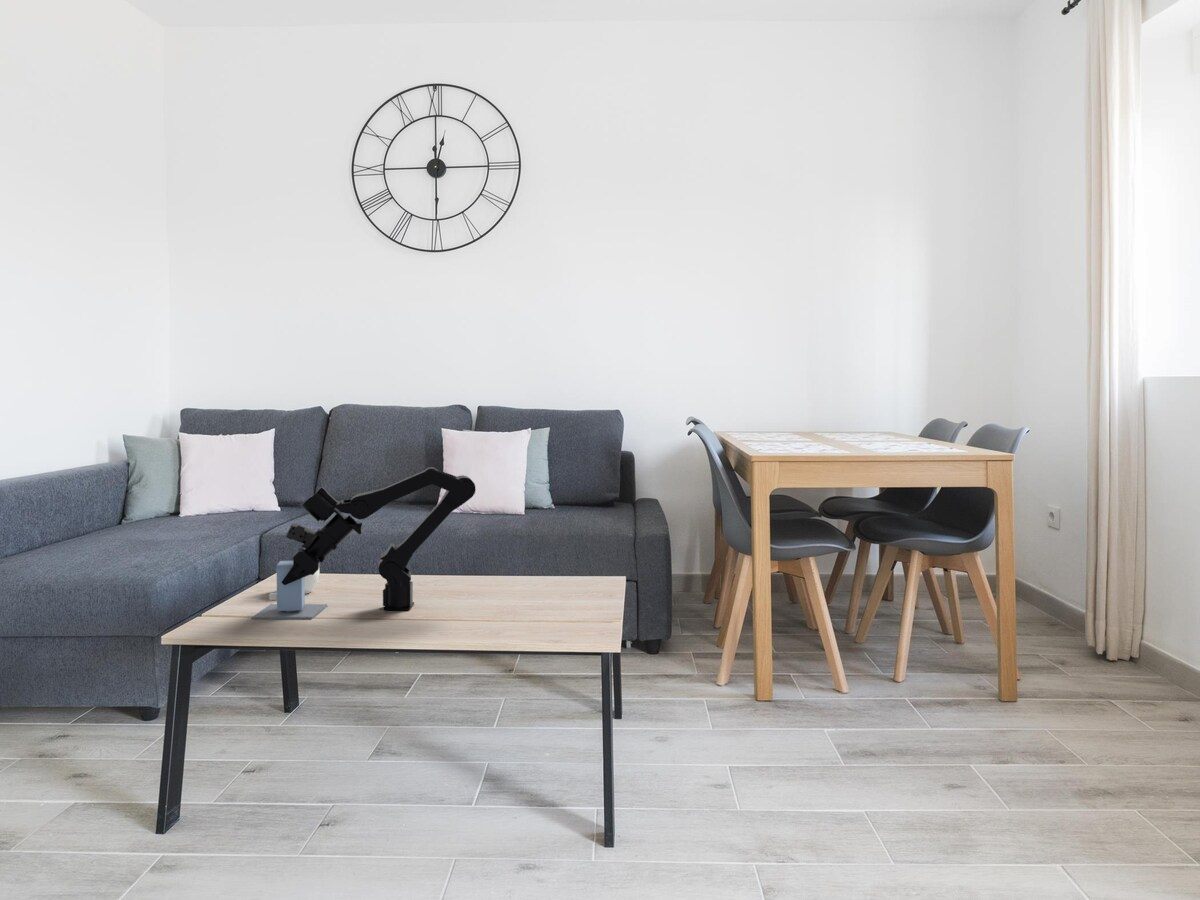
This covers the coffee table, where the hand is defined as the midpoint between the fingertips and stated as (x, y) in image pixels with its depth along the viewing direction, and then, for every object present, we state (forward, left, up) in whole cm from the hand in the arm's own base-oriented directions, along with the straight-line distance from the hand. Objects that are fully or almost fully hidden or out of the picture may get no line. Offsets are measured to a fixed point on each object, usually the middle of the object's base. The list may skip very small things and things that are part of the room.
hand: (284, 581), depth 194 cm
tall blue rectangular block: (-1, 0, -7) cm, 7 cm away
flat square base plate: (-1, 0, -8) cm, 8 cm away
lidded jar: (+4, -21, -8) cm, 23 cm away
